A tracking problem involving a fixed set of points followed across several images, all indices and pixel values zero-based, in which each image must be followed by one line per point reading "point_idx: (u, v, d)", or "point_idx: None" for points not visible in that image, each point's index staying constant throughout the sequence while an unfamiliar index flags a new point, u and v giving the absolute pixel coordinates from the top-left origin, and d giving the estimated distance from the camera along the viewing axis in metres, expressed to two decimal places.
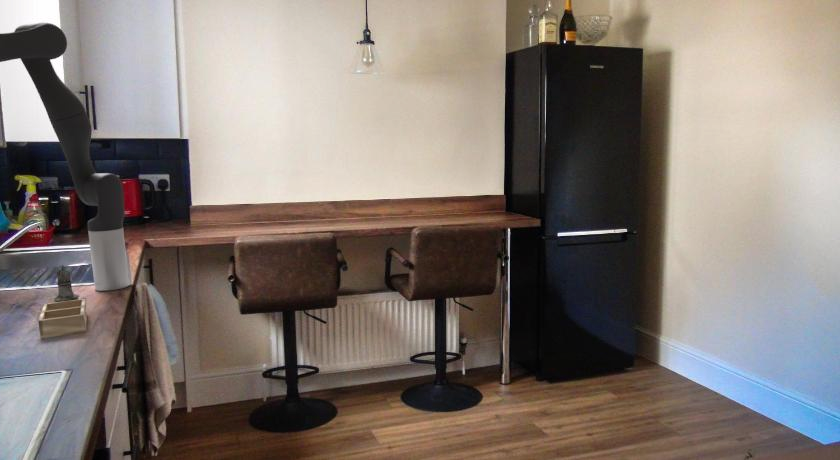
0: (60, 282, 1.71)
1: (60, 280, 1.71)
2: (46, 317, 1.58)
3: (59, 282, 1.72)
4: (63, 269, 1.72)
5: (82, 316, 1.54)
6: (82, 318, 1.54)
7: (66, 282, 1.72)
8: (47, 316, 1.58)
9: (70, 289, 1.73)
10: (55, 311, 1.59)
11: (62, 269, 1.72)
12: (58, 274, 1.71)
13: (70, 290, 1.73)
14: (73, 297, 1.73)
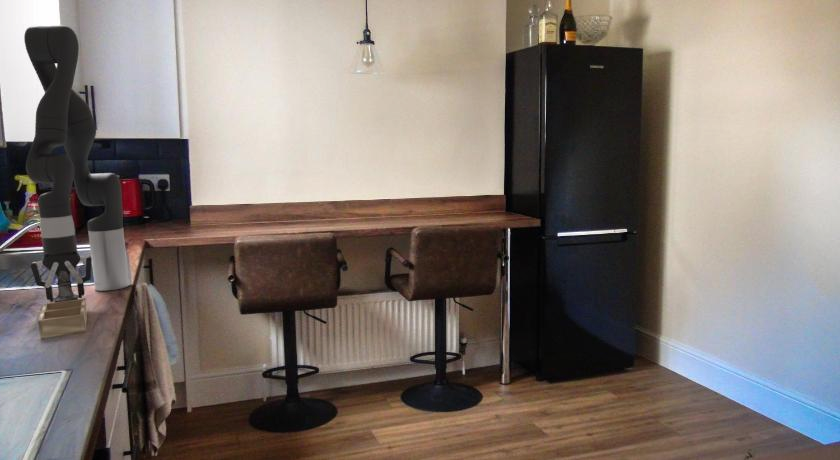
0: (60, 282, 1.71)
1: (60, 280, 1.71)
2: (46, 317, 1.58)
3: (59, 282, 1.71)
4: None
5: (82, 316, 1.54)
6: (82, 318, 1.54)
7: (65, 282, 1.72)
8: (47, 316, 1.58)
9: (70, 289, 1.73)
10: (55, 311, 1.59)
11: None
12: None
13: (69, 290, 1.73)
14: (73, 297, 1.73)
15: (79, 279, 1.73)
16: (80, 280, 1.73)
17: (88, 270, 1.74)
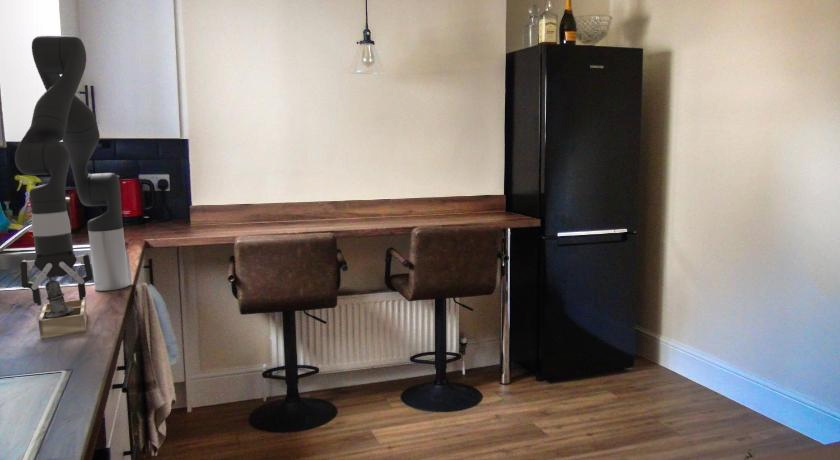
0: (50, 296, 1.53)
1: (50, 294, 1.53)
2: (46, 317, 1.58)
3: (49, 296, 1.53)
4: (52, 282, 1.53)
5: (82, 316, 1.54)
6: (82, 318, 1.54)
7: (57, 296, 1.54)
8: None
9: (63, 302, 1.55)
10: None
11: (50, 281, 1.53)
12: (47, 288, 1.53)
13: (62, 303, 1.55)
14: (67, 311, 1.55)
15: (80, 279, 1.56)
16: (81, 280, 1.56)
17: (88, 269, 1.56)
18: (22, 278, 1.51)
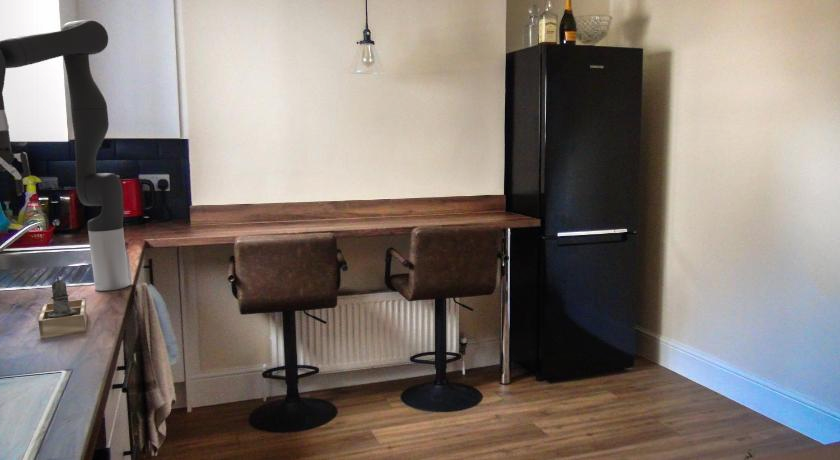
0: (56, 296, 1.54)
1: (56, 294, 1.54)
2: (46, 317, 1.58)
3: (54, 296, 1.54)
4: (59, 281, 1.55)
5: (82, 316, 1.54)
6: (82, 318, 1.54)
7: (62, 296, 1.55)
8: (47, 316, 1.58)
9: (67, 303, 1.56)
10: None
11: (57, 281, 1.55)
12: (53, 287, 1.54)
13: (66, 304, 1.56)
14: (70, 312, 1.55)
15: (17, 175, 1.67)
16: (18, 176, 1.67)
17: (25, 166, 1.68)
18: None
